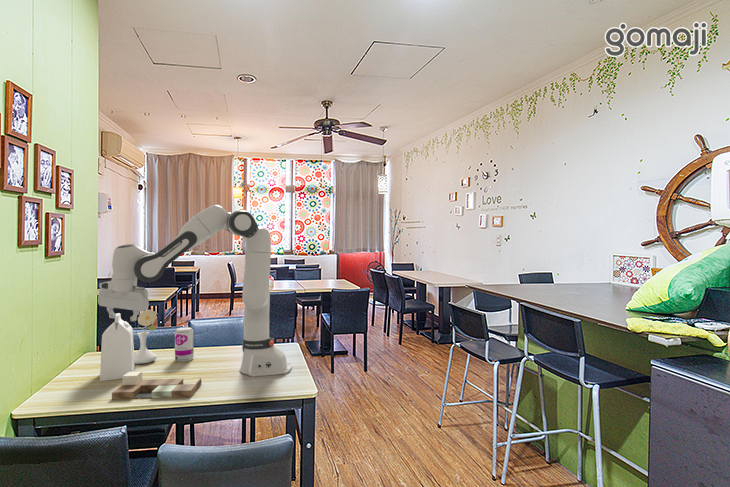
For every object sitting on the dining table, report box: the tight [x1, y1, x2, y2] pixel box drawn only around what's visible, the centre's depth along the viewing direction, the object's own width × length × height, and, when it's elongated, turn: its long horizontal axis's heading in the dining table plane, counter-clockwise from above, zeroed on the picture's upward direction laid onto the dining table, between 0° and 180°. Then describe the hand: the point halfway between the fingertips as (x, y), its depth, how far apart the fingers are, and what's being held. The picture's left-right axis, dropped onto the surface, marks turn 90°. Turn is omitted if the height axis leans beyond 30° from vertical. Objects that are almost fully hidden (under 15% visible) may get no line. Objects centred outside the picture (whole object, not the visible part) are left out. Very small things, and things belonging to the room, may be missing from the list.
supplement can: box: [174, 326, 194, 363], centre depth 202 cm, size 8×8×15 cm
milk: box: [99, 312, 136, 382], centre depth 180 cm, size 12×12×26 cm
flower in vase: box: [134, 309, 158, 365], centre depth 197 cm, size 13×11×25 cm
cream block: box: [122, 371, 143, 385], centre depth 163 cm, size 5×5×4 cm
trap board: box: [111, 377, 202, 400], centre depth 161 cm, size 28×13×3 cm, turn 95°
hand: (122, 319), depth 167 cm, fingers open, 8 cm apart
